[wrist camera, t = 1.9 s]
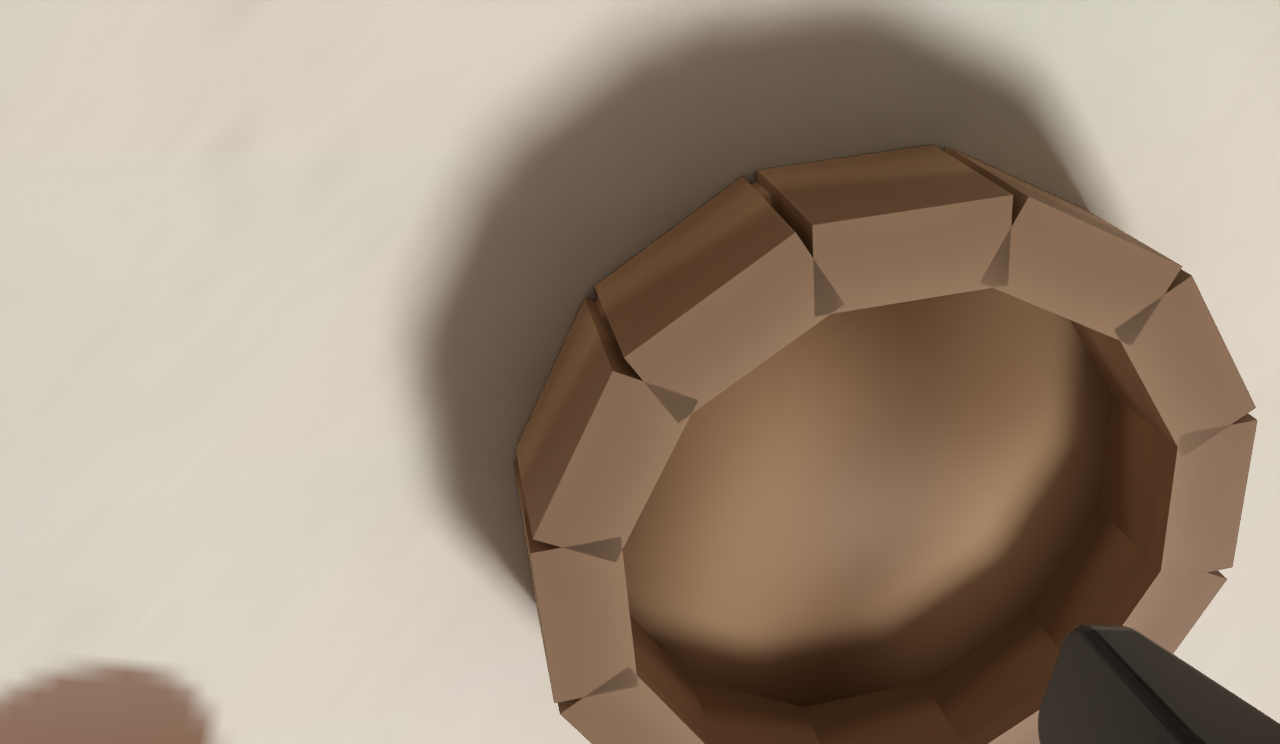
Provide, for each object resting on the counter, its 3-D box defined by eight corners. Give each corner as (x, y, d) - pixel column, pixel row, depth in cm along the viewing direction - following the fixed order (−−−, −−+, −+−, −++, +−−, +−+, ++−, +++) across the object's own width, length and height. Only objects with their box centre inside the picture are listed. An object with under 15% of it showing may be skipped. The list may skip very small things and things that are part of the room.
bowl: (564, 781, 25) (584, 896, 23) (473, 211, 20) (486, 274, 17) (1120, 665, 27) (1199, 759, 24) (1189, 107, 21) (1303, 150, 19)
